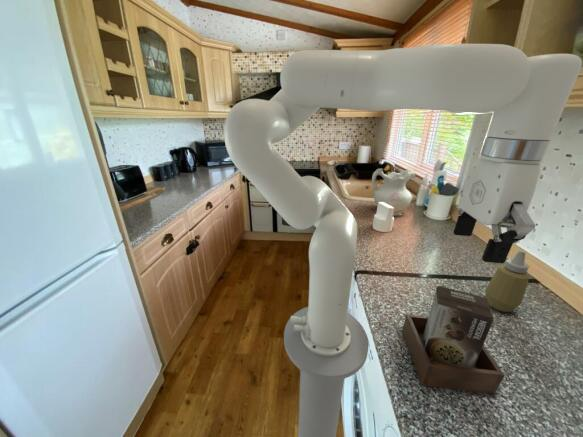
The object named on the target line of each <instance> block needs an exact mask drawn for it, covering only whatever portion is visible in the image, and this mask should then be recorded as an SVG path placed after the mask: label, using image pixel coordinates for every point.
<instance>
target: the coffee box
mask: <svg viewBox="0 0 583 437" xmlns="http://www.w3.org/2000/svg"><path fill="white" fill-rule="evenodd" d="M428 316H429V317H428V320H427V324H426V327H425V331H424V334H423V337H422V344H423V346H424V348H425V351H426V353H427V355H428V358H429V360H430V362H431V363H432V364H440V365H449V366H458V367H467V368H474V366H475V364H476V361H477V359H478V356H479V354H480V351H481V349H482V346H483V345H484V344H485V342H486V339H487V337H488V335H489V332H490V330H491V328H492V325H493V323H494V320H495V317H494V315H493V312H492V308H491V306H490V305H489V302H488V299H487V298H486V296H482V295H477V294H473V293H470V292H469V293H468V292H465V291H460V290H457V289H453V288H449V287H445V286H442V285H441V286H440V285H437V286H436V290H435V293H434V296H433V299H432V304H431V306H430V311H429V314H428Z"/></svg>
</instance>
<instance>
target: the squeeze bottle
mask: <svg viewBox="0 0 583 437" xmlns="http://www.w3.org/2000/svg"><path fill="white" fill-rule="evenodd" d="M525 259H526V251H525V250H522V249H521V250H520V249H519V251H517V253H516V254H515V255H514V256H513V258H506V260H505V262H504V263H503V264H501V265H498V267H497V269H496V270H495V272H494V274H493V275H492V277H491V279H490V281H489V283H488V284H487V286H486V288H485V298H487V299H488V302H489V305H490V307H492V308H493V309H495V310H497V311H500V312H504V313H510V312H512V311H514V310H515V309H516V308H518V307H519V306H521V305H522V303H523V301H524V297H525V295H526V294H525V293H526V291H527V287H528V284H529V281H530V274H529V273H528V270H529V264H528V263H526V262H525V261H526V260H525Z"/></svg>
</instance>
